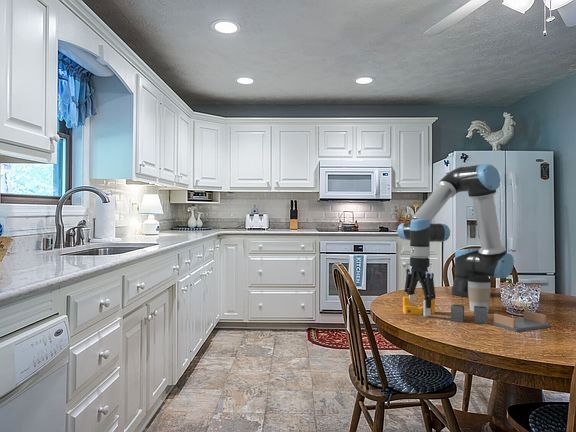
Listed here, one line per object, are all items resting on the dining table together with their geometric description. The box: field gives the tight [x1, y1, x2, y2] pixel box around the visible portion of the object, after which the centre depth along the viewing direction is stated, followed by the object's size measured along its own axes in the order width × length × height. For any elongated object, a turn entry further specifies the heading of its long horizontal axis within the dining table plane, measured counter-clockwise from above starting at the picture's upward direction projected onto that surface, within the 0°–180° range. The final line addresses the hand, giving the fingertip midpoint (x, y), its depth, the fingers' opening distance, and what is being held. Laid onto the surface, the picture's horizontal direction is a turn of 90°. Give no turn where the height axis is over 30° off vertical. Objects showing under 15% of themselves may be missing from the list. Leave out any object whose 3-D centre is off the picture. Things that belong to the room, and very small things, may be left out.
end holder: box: [491, 309, 550, 332], centre depth 139 cm, size 16×10×4 cm, turn 110°
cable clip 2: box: [473, 306, 488, 325], centre depth 143 cm, size 4×3×6 cm
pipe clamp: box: [402, 295, 436, 316], centre depth 157 cm, size 12×4×6 cm, turn 87°
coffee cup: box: [467, 274, 492, 313], centre depth 161 cm, size 9×9×15 cm
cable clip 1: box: [450, 303, 465, 323], centre depth 146 cm, size 4×3×6 cm
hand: (419, 313), depth 155 cm, fingers open, 8 cm apart
